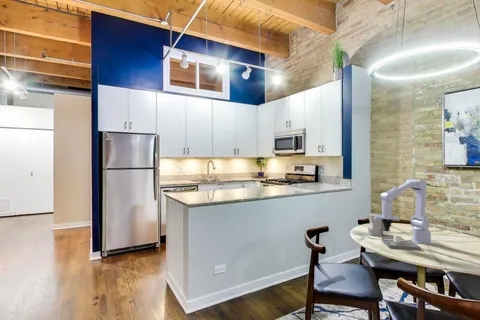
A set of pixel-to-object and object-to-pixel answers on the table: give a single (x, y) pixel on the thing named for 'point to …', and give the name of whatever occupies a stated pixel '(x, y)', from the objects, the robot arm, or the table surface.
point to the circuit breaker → (376, 226)
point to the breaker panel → (401, 244)
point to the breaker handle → (397, 238)
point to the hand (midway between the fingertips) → (386, 230)
